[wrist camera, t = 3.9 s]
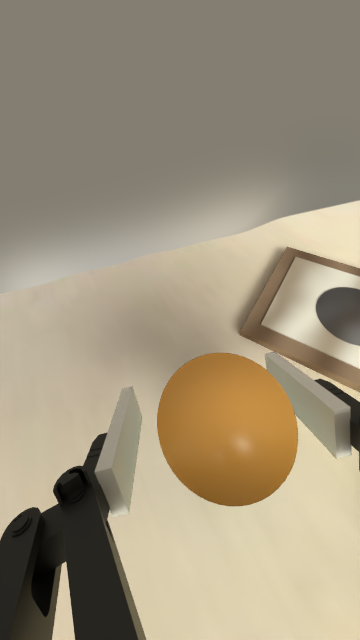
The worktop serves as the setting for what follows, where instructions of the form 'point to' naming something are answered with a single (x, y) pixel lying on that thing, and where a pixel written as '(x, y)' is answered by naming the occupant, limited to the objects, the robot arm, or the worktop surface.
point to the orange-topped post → (227, 429)
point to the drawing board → (311, 315)
